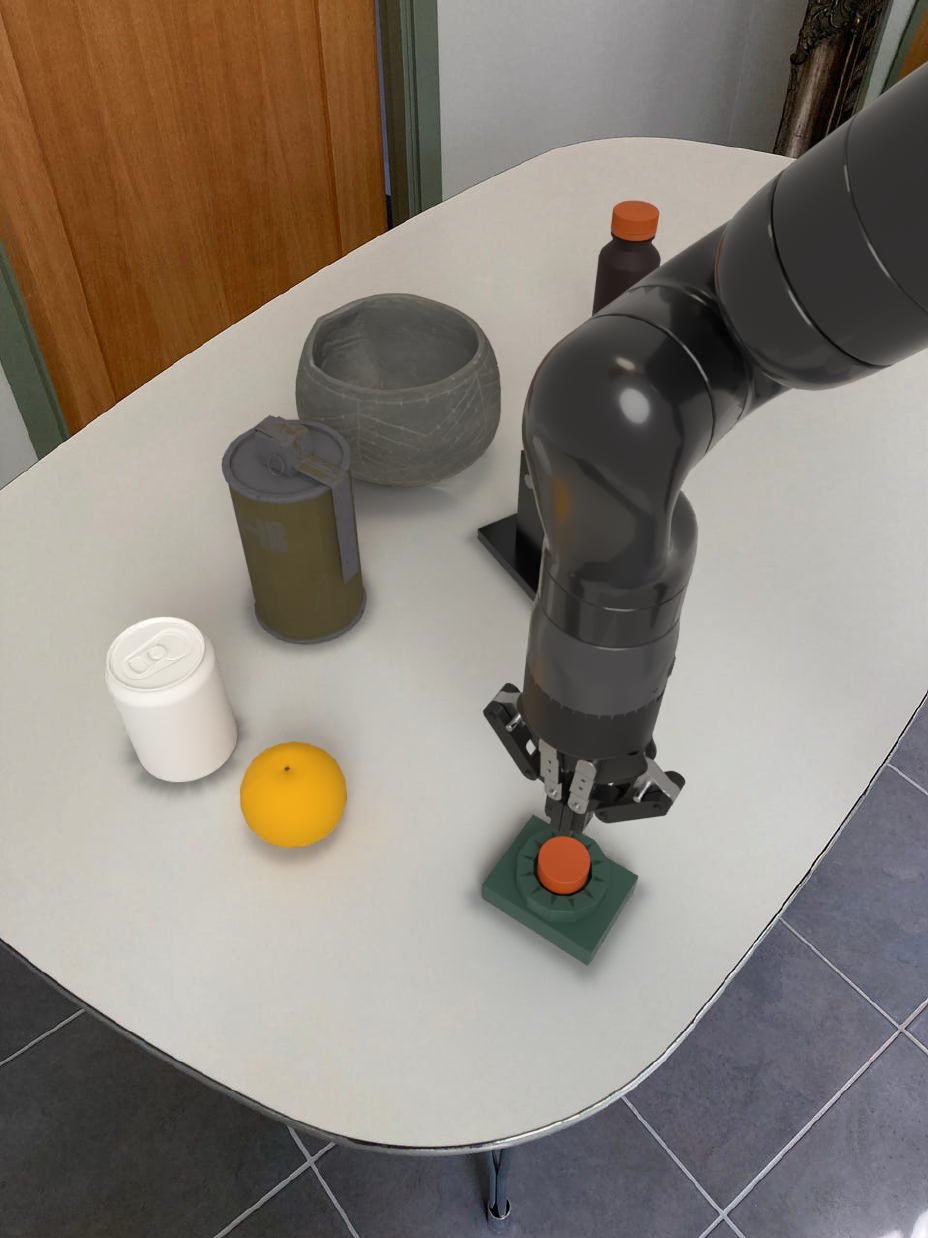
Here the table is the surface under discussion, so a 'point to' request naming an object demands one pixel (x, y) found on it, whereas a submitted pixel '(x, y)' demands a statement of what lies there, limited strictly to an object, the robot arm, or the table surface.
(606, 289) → the bottle
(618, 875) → the button box
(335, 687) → the table surface
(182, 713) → the beverage can
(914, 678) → the table surface
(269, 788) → the orange
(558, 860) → the button
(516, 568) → the bracket
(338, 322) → the bowl
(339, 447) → the canister
